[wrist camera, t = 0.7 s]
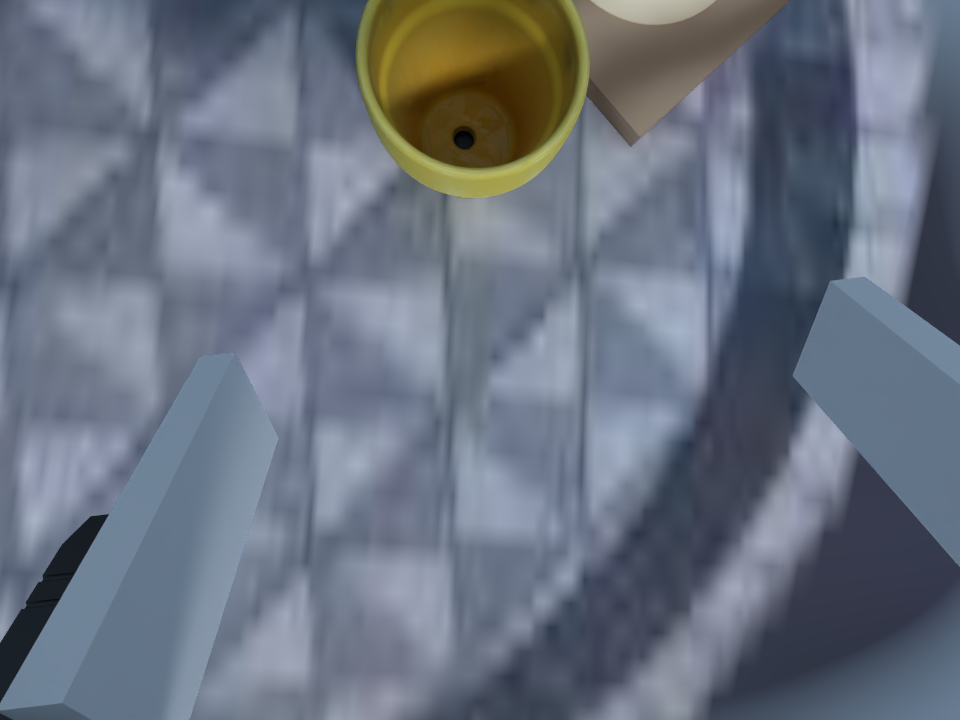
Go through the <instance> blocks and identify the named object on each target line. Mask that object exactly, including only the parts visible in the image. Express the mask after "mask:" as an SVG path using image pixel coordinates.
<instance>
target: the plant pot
mask: <svg viewBox="0 0 960 720" xmlns="http://www.w3.org/2000/svg"><path fill="white" fill-rule="evenodd" d="M355 60H356V71H357V78H358V83H359V87H360V90H361V94H362V97H363V100H364V103H365V106H366V109H367V112H368V115H369V117H370V120H371V122H372V124H373V127H374V129H375V131H376V133H377V135H378V137H379V139H380V141H381V143H382V144H383V146H384V147H385V149H386V151H387V152H388V153H389V155H390V156H391V157H392V158H393V160H394V161H395V162H396V163H397V164H398V165H399V166H400V167H401V168H402V169H403V170H404V171H405V172H406V173H407V174H409V175H410V176H412V177H413V178H414V179H416V180H417V181H419V182H420V183H422V184H424V185H426V186H428V187H429V188H431V189H434V190H436V191H439V192H442V193H445V194H448V195H451V196H455V197H459V198H479V197H489V196H495V195H499V194H502V193H506V192H508V191H511V190H513V189H515V188H518V187H520V186H522V185H523V184H525V183H526V182H528V181H529V180H531V179H532V178H534V177H535V176H536V175H538V174H539V173H540V172H541V171H542V170H543V169H544V168H545V167H546V166H547V165H548V164H549V163H550V161H551V160H552V159H553V158H554V156H555V155H556V154H557V152H558V151H559V150H560V148H561V147H562V145H563V143H564V142H565V140H566V139H567V137H568V135H569V134H570V132H571V130H572V128H573V126H574V124H575V123H576V121H577V119H578V116H579V114H580V112H581V109H582V106H583V104H584V100H585V97H586V93H587V88H588V82H589V71H590V59H589V48H588V41H587V37H586V33H585V29H584V26H583V23H582V20H581V17H580V15H579V13H578V11H577V8H576V6H575V4H574V3H573V1H572V0H368V1H367V3H366V5H365V8H364V10H363V13H362V16H361V20H360V23H359V27H358V32H357V38H356V51H355ZM460 131H467V132H469V133H470V134H471V135H472V136H473V138H474V144H473V145H472V147H471V148H469V149H467V150H464V149H460V148H459V147H457V146H456V144H455V142H454V137H455V135H456V134H457V133H458V132H460Z"/></svg>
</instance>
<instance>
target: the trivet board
mask: <svg viewBox="0 0 960 720" xmlns="http://www.w3.org/2000/svg"><path fill="white" fill-rule="evenodd" d="M572 1H573V3H574V4H575V6H576V8H577V11H578V13H579V15H580V17H581V20H582V23H583V26H584V29H585V33H586V37H587V41H588V48H589V59H590V71H589V82H588V88H587V93H586V95H587V96H588V97H589V98H590V100H591V101H592V102H593V103H594V104H595V105H596V107H597V108H598V109H599V110H600V111H601V112H602V114H603V115H604V116H605V117H606V118H607V119H608V121H609V122H610V123H611V124H612V125H613V126H614V128H615V129H616V130H617V131H618V132H619V133H620V135H621V136H622V137H623V138H624V139H625V141H626V142H627V143H628V144H629V145H630V146H632V145H633V144H634V143H636V142H637V141H638V140H639V139H640V138H641V137H642V136H643V135H644V134H645V133H646V132H648V131H649V130H650V129H651V128H652V127H653V126H654V125H655V124H656V123H657V122H658V121H660V120H661V119H662V118H663V117H664V116H665V115H666V114H667V113H668V112H669V111H670V110H672V109H673V108H674V107H675V106H676V105H677V104H678V103H679V102H680V101H681V100H682V99H684V98H685V97H686V96H687V95H688V94H689V93H690V92H691V91H692V90H693V89H694V88H695V87H697V86H698V85H699V84H700V83H701V82H702V81H703V80H704V79H705V78H706V77H707V76H709V75H710V74H711V73H712V72H713V71H714V70H715V69H716V68H717V67H718V66H719V65H721V64H722V63H723V62H724V61H725V60H726V59H727V58H728V57H729V56H730V55H731V54H733V53H734V52H735V51H736V50H737V49H738V48H739V47H740V46H741V45H742V44H743V43H745V42H746V41H747V40H748V39H749V38H750V37H751V36H752V35H753V34H754V33H755V32H757V31H758V30H759V29H760V28H761V27H762V26H763V25H764V24H765V23H766V22H767V21H769V20H770V19H771V18H772V17H773V16H774V15H775V14H776V13H777V12H778V11H779V10H780V9H782V8H783V7H784V6H785V5H786V4H787V3H788V2H789V1H790V0H572Z"/></svg>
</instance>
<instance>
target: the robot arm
mask: <svg viewBox="0 0 960 720" xmlns="http://www.w3.org/2000/svg"><path fill="white" fill-rule="evenodd" d="M793 377H794V378H795V379H796V380H797V381H798V382H799V384H800V385H801V386H802V387H803V388H804V389H805V390H806V392H807V393H808V394H809V395H810V396H811V397H812V398H813V400H814V401H815V402H816V403H817V404H818V405H819V406H820V408H821V409H822V410H823V411H824V412H825V413H826V414H827V416H828V417H829V418H830V419H831V420H832V421H833V422H834V424H835V425H836V426H837V427H838V428H839V429H840V430H841V432H842V433H843V434H844V435H845V436H846V437H847V438H848V440H849V441H850V442H851V443H852V444H853V445H854V446H855V448H856V449H857V450H858V451H859V452H860V453H861V454H862V456H863V457H864V458H865V459H866V460H867V461H868V462H869V464H870V465H871V466H872V467H873V468H874V469H875V470H876V472H877V473H878V474H879V475H880V476H881V477H882V478H883V480H884V481H885V482H886V483H887V484H888V485H889V486H890V488H891V489H892V490H893V491H894V492H895V493H896V494H897V496H898V497H899V498H900V499H901V500H902V501H903V502H904V504H905V505H907V507H908V508H909V509H910V510H911V512H912V513H913V514H914V515H915V516H916V517H917V518H918V520H919V521H920V522H921V523H922V524H923V525H924V526H925V527H926V529H927V530H928V531H929V532H930V533H931V534H932V536H933V537H934V538H935V539H936V540H937V541H938V542H939V544H940V545H941V546H942V547H943V548H944V549H945V550H946V552H947V553H948V554H949V555H950V556H951V557H952V558H953V560H954V561H955V562H956V563H957V564H958V565H959V566H960V346H959V345H958V344H956V343H955V342H954V341H952V340H951V339H949V338H948V337H947V336H945V335H944V334H943V333H941V332H940V331H939V330H937V329H936V328H934V327H933V326H931V325H930V324H929V323H927V322H926V321H925V320H923V319H922V318H921V317H919V316H918V315H916V314H915V313H914V312H912V311H911V310H909V309H908V308H907V307H906V306H904V305H903V304H901V303H900V302H899V301H897V300H896V299H895V298H893V297H892V296H890V295H889V294H888V293H886V292H885V291H883V290H882V289H881V288H879V287H878V286H877V285H875V284H874V283H872V282H871V281H870V280H868V279H867V278H866V277H859V278H851V279H843V280H834V281H830V283H829V285H828V288H827V291H826V293H825V296H824V298H823V301H822V303H821V306H820V308H819V311H818V313H817V316H816V318H815V321H814V323H813V326H812V328H811V331H810V333H809V336H808V338H807V341H806V343H805V346H804V349H803V351H802V354H801V356H800V359H799V361H798V364H797V366H796V369H795V371H794V374H793ZM277 441H278V436H277V434H276V432H275V430H274V428H273V426H272V424H271V422H270V420H269V418H268V416H267V414H266V412H265V410H264V408H263V406H262V404H261V402H260V400H259V398H258V396H257V394H256V392H255V390H254V388H253V386H252V384H251V382H250V380H249V378H248V376H247V375H246V373H245V371H244V369H243V367H242V365H241V363H240V361H239V359H238V357H237V355H236V353H235V352H233V353H224V354H216V355H208V356H200V358H199V360H198V361H197V363H196V365H195V366H194V368H193V370H192V372H191V373H190V375H189V377H188V379H187V380H186V382H185V384H184V386H183V387H182V389H181V391H180V392H179V394H178V396H177V398H176V399H175V401H174V403H173V405H172V406H171V408H170V410H169V412H168V413H167V415H166V417H165V418H164V420H163V422H162V424H161V425H160V427H159V429H158V431H157V432H156V434H155V436H154V438H153V439H152V441H151V443H150V444H149V446H148V448H147V450H146V451H145V453H144V455H143V457H142V458H141V460H140V462H139V464H138V465H137V467H136V469H135V470H134V472H133V474H132V476H131V477H130V479H129V481H128V483H127V484H126V486H125V488H124V489H123V491H122V493H121V495H120V496H119V498H118V500H117V502H116V503H115V505H114V507H113V509H112V510H111V512H110V514H107V515H98V516H91V517H90V518H89V519H88V520H87V521H86V522H85V523H83V524H82V525H81V526H80V527H79V528H78V529H77V530H76V531H75V532H74V533H73V534H72V535H71V536H70V537H69V538H68V539H67V540H66V541H65V542H64V543H63V544H62V546H61V547H60V549H59V550H58V552H57V553H56V555H55V557H54V558H53V560H52V561H51V563H50V565H49V566H48V568H47V569H46V571H45V573H44V574H43V581H42V582H38V584H37V585H36V587H35V589H34V590H33V592H32V593H31V595H30V597H29V598H28V600H27V601H26V604H27V606H26V608H25V609H21V611H20V612H19V614H18V616H17V617H16V619H15V620H14V622H13V624H12V625H11V627H10V628H9V630H8V632H7V633H6V635H5V636H4V638H3V640H2V641H1V643H0V720H190V716H191V713H192V710H193V707H194V704H195V700H196V697H197V694H198V691H199V688H200V685H201V681H202V678H203V675H204V672H205V669H206V666H207V662H208V659H209V656H210V653H211V650H212V647H213V643H214V640H215V637H216V634H217V631H218V628H219V624H220V621H221V618H222V615H223V612H224V609H225V605H226V602H227V599H228V596H229V593H230V590H231V586H232V583H233V580H234V577H235V574H236V571H237V567H238V564H239V561H240V558H241V555H242V551H243V548H244V545H245V542H246V539H247V536H248V532H249V529H250V526H251V523H252V520H253V517H254V513H255V510H256V507H257V504H258V501H259V498H260V494H261V491H262V488H263V485H264V482H265V479H266V475H267V472H268V469H269V466H270V463H271V460H272V456H273V453H274V450H275V447H276V444H277Z"/></svg>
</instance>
